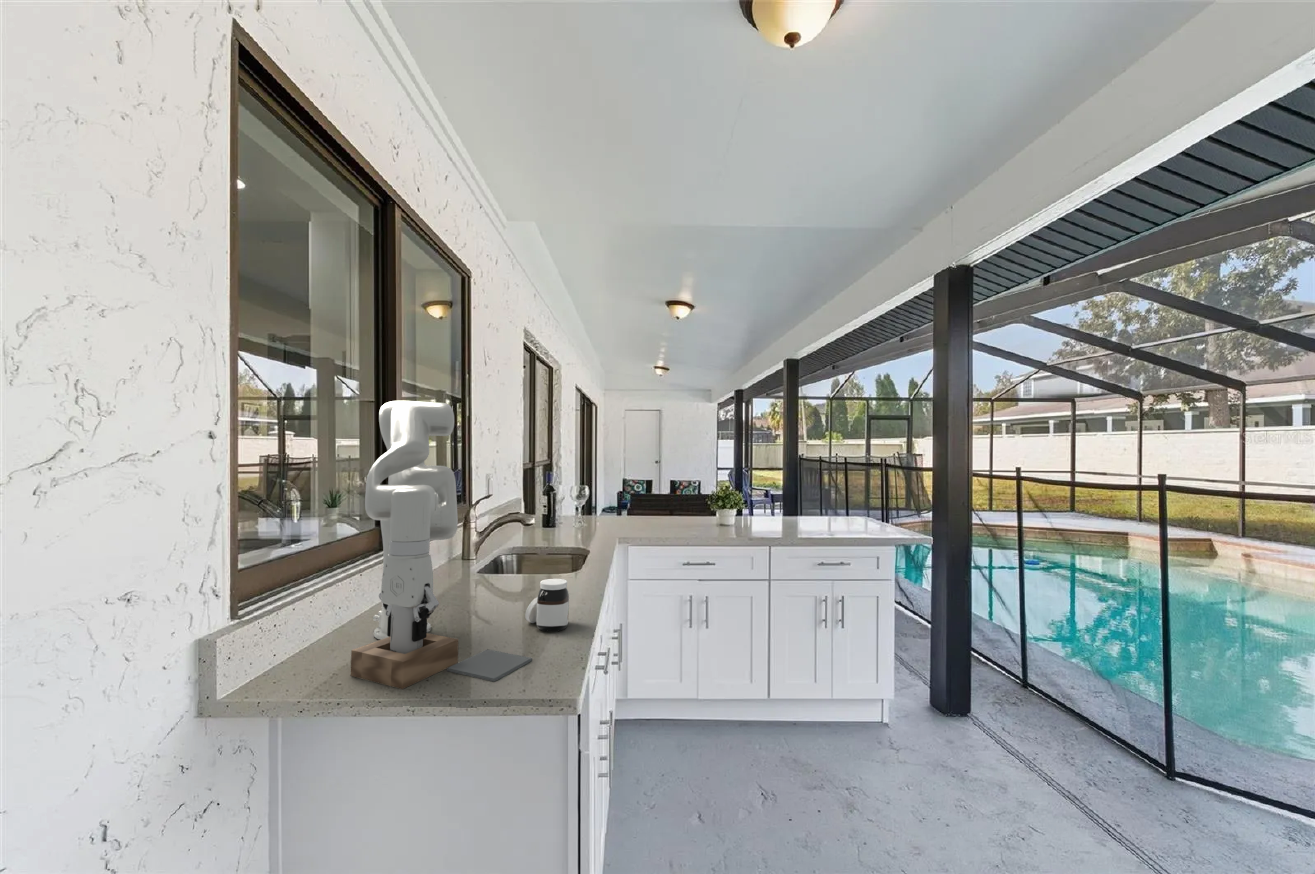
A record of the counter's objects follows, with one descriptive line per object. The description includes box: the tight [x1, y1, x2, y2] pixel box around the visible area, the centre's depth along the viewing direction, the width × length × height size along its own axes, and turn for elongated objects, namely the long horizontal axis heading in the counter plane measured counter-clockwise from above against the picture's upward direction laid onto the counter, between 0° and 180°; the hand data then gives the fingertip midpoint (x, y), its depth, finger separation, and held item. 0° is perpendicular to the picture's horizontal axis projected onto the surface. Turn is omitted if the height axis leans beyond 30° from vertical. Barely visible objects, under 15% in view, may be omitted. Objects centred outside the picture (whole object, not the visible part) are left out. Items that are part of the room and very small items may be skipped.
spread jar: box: [524, 578, 570, 633], centre depth 140 cm, size 12×11×12 cm
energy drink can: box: [390, 602, 423, 654], centre depth 111 cm, size 6×6×15 cm
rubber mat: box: [446, 648, 533, 682], centre depth 113 cm, size 12×12×1 cm
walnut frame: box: [350, 632, 459, 690], centre depth 111 cm, size 14×14×5 cm
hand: (406, 636), depth 111 cm, fingers closed on energy drink can, 6 cm apart
